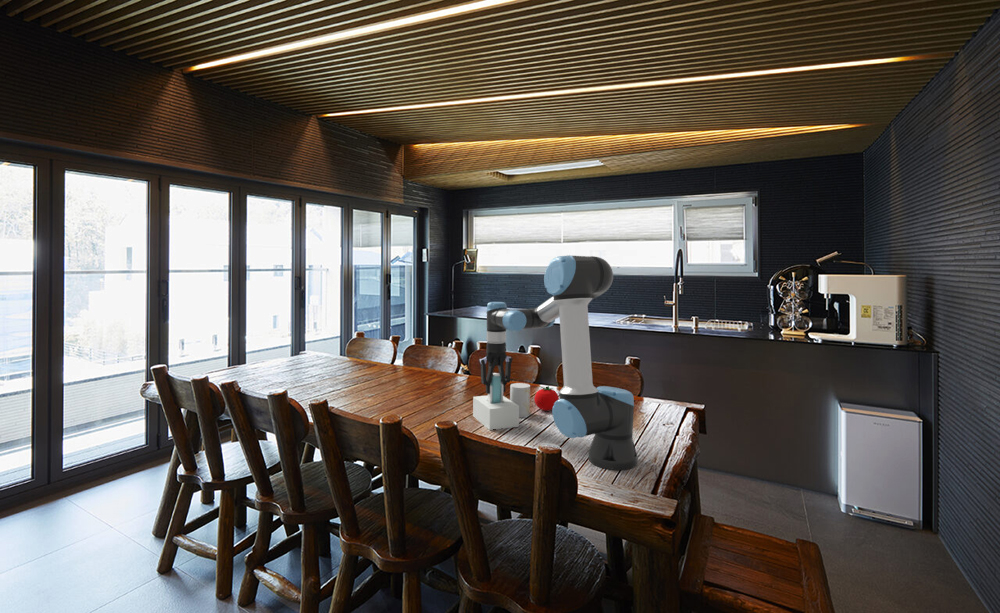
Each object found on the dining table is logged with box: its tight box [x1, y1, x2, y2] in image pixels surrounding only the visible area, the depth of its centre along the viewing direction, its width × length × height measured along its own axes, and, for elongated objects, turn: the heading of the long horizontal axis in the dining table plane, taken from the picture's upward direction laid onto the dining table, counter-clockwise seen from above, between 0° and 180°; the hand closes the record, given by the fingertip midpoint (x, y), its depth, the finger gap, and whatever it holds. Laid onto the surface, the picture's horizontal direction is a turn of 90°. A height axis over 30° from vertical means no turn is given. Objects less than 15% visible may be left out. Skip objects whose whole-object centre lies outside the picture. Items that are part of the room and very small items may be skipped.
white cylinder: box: [509, 382, 531, 418], centre depth 201 cm, size 8×8×12 cm
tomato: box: [534, 385, 560, 412], centre depth 208 cm, size 10×10×10 cm
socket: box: [472, 394, 520, 431], centre depth 192 cm, size 18×12×8 cm, turn 23°
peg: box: [491, 372, 501, 404], centre depth 191 cm, size 4×4×15 cm
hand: (495, 400), depth 192 cm, fingers closed on peg, 4 cm apart
